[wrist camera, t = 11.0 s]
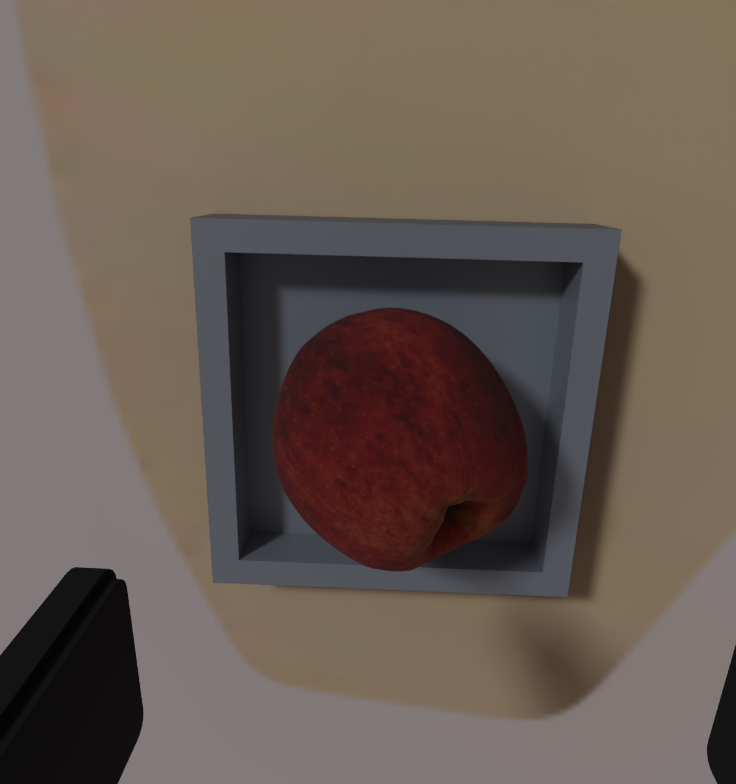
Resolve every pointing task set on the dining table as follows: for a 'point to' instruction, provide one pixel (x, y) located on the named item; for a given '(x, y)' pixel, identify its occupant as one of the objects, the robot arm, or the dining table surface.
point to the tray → (419, 293)
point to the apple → (397, 439)
